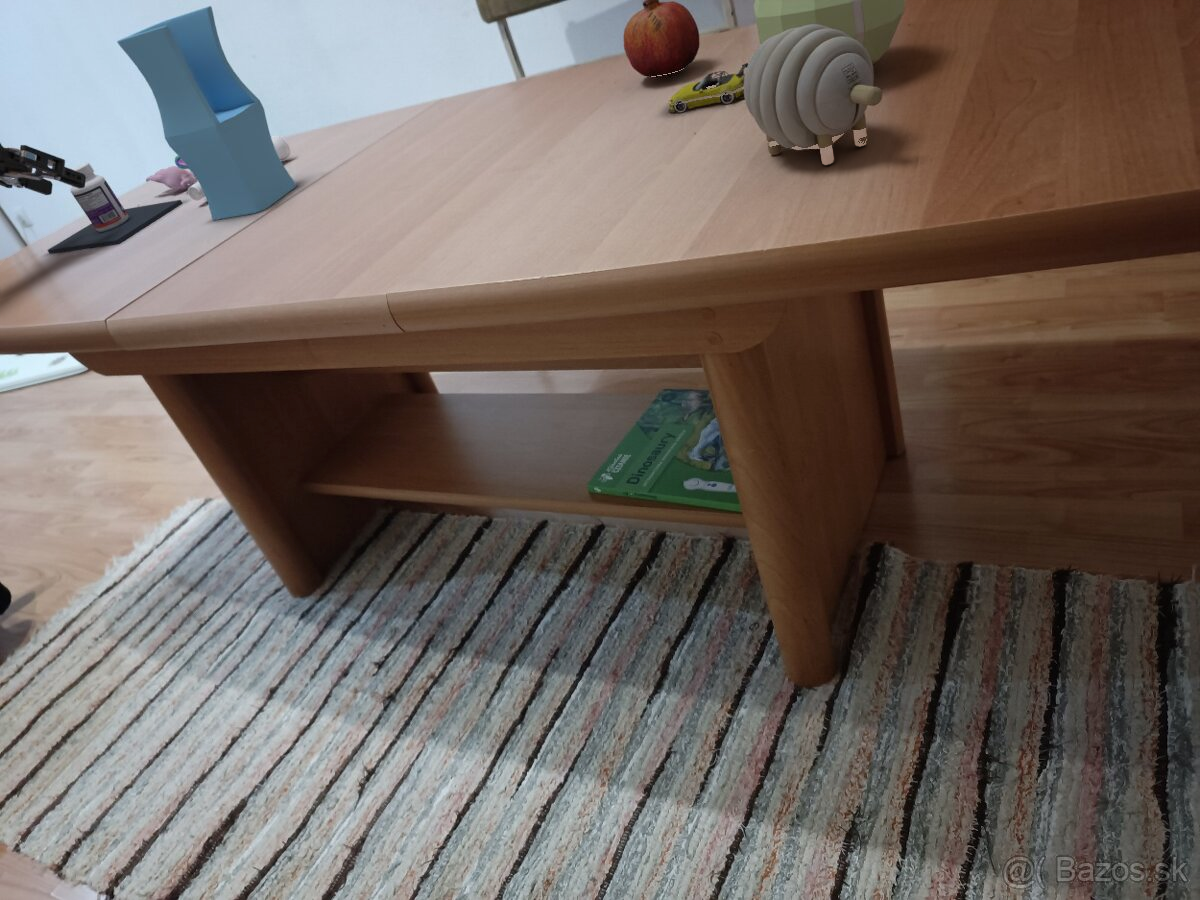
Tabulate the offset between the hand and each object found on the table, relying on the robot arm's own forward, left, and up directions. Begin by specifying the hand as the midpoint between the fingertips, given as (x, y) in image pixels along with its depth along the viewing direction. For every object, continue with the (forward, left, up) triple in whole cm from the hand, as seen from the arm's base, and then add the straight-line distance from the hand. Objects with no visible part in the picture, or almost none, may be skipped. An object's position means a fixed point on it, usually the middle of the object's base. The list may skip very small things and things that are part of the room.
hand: (67, 185), depth 135 cm
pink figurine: (+3, +17, -9) cm, 20 cm away
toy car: (+99, +15, -9) cm, 101 cm away
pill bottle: (0, +3, -8) cm, 9 cm away
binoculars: (+19, +15, -9) cm, 26 cm away
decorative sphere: (+114, +15, -9) cm, 115 cm away
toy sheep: (+116, -6, -9) cm, 117 cm away
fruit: (+89, +29, -9) cm, 94 cm away
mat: (0, +3, -9) cm, 9 cm away
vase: (+31, +5, -9) cm, 33 cm away
